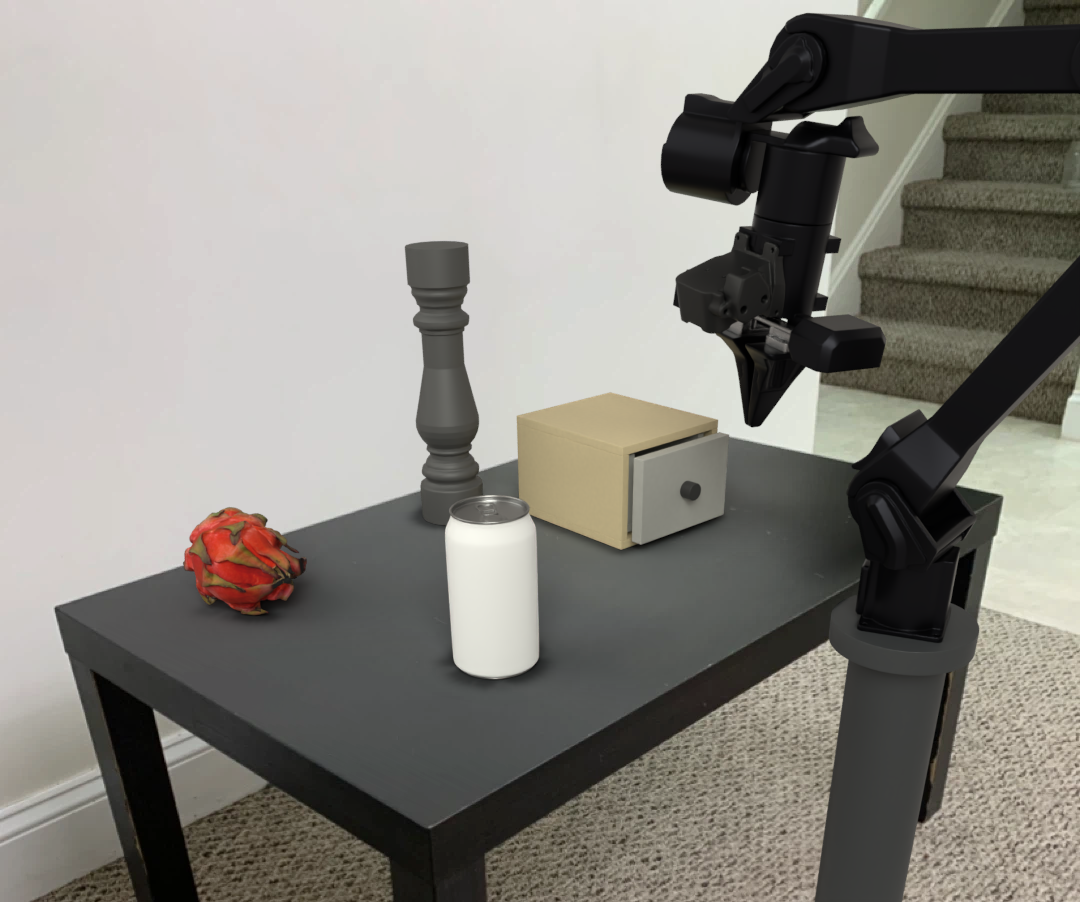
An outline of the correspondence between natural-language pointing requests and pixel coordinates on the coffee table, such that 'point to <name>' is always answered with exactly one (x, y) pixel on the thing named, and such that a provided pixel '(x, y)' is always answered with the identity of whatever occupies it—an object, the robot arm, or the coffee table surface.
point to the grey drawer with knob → (676, 485)
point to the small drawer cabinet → (593, 459)
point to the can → (493, 586)
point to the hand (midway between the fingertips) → (752, 425)
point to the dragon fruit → (241, 561)
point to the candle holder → (443, 376)
